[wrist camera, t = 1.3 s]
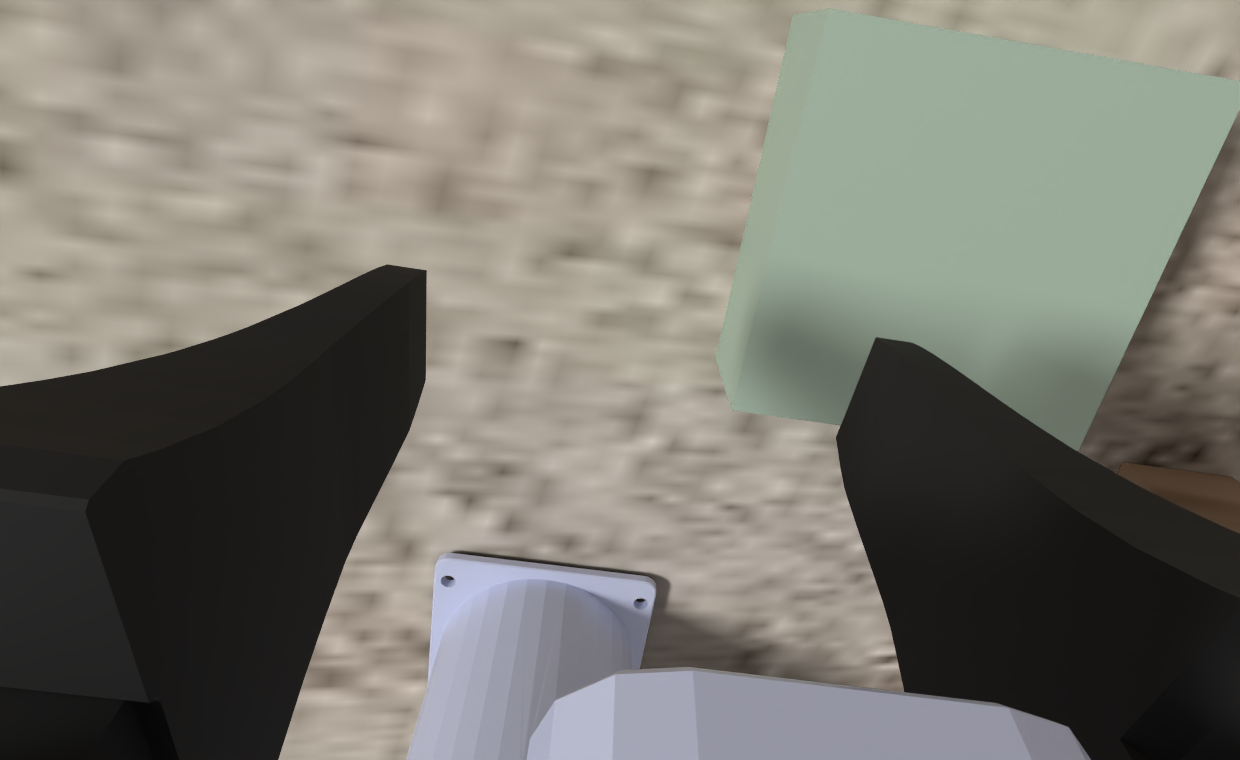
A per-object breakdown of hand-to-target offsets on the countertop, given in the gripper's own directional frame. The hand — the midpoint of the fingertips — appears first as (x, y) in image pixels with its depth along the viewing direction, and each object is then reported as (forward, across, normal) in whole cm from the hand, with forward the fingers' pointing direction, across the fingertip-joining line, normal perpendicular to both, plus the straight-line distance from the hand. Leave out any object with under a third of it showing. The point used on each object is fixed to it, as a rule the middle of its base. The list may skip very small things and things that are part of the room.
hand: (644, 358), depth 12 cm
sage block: (+11, -8, +1) cm, 14 cm away
